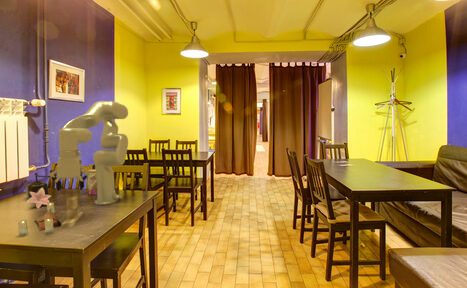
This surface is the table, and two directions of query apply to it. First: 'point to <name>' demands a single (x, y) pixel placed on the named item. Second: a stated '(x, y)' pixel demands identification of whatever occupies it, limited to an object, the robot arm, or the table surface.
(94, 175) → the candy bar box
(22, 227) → the light bulbs
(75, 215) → the beige t-shaped block
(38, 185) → the manual coffee grinder
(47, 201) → the lily
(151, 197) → the table surface
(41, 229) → the sunglasses case
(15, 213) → the table surface
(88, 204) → the table surface
